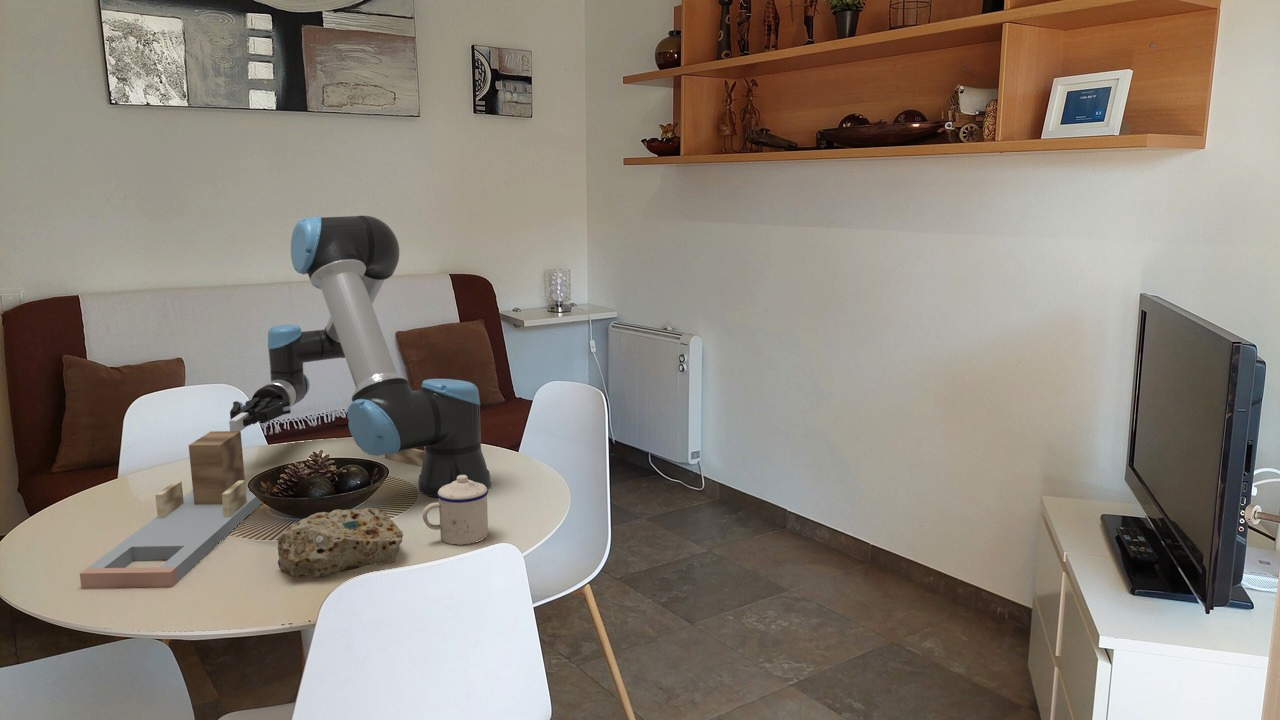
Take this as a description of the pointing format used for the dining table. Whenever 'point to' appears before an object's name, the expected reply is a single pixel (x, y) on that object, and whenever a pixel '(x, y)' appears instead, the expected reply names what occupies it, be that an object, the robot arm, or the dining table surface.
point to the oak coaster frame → (408, 456)
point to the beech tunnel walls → (174, 498)
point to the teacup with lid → (461, 511)
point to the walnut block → (215, 465)
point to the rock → (338, 542)
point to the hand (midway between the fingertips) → (233, 426)
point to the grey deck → (167, 546)
